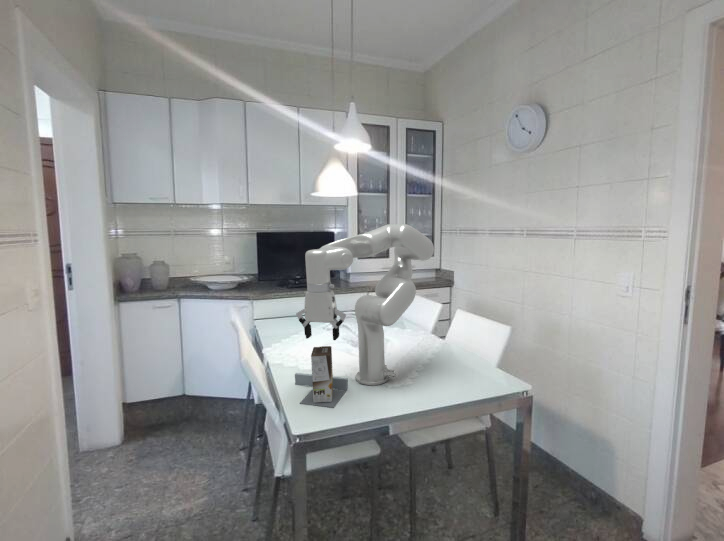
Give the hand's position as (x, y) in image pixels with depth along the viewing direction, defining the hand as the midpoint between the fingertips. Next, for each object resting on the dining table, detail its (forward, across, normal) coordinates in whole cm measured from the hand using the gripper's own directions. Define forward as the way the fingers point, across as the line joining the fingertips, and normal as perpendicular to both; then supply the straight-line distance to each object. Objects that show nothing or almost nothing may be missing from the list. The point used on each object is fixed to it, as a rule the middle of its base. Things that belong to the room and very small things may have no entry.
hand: (322, 338), depth 128 cm
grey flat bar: (+21, +4, -7) cm, 22 cm away
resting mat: (+21, 0, +1) cm, 21 cm away
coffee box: (+20, 0, +1) cm, 21 cm away
